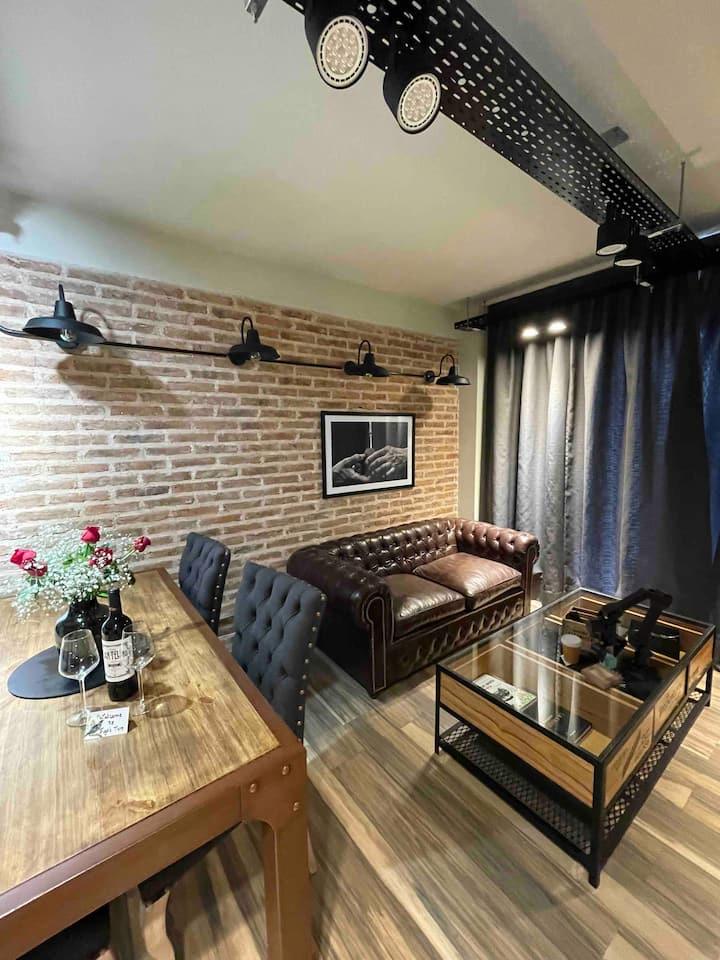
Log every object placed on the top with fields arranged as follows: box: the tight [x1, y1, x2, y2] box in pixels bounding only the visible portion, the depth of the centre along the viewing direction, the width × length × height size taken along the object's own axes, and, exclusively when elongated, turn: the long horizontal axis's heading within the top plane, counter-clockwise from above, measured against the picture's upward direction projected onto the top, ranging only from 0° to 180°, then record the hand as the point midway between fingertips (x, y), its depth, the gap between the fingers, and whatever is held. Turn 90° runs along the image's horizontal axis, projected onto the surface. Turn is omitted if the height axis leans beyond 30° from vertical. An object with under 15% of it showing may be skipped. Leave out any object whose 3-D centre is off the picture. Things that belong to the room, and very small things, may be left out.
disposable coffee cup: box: [560, 633, 583, 665], centre depth 203 cm, size 10×10×12 cm
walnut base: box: [580, 662, 624, 691], centre depth 189 cm, size 12×12×2 cm
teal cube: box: [599, 652, 618, 670], centre depth 197 cm, size 5×5×5 cm
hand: (608, 660), depth 197 cm, fingers open, 9 cm apart
